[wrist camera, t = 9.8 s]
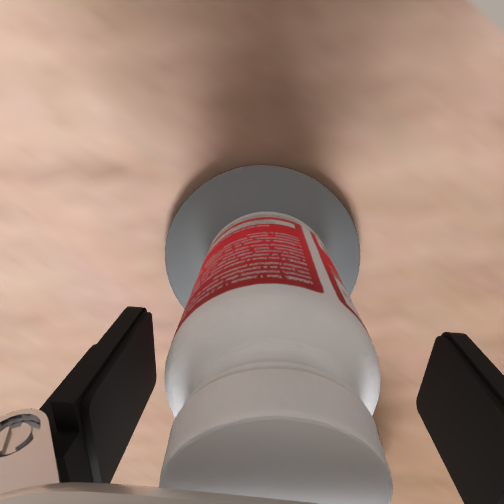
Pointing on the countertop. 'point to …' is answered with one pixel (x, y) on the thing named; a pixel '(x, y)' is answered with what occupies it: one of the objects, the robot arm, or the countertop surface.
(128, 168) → the countertop surface
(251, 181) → the coaster
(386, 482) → the pill bottle
